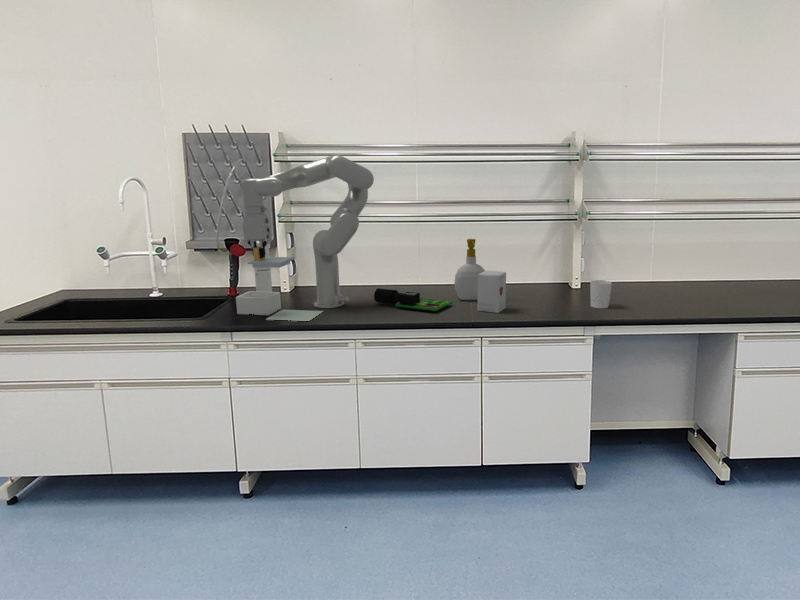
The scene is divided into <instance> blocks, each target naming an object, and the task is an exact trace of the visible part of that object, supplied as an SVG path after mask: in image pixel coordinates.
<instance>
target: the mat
mask: <svg viewBox="0 0 800 600" xmlns="http://www.w3.org/2000/svg"><path fill="white" fill-rule="evenodd" d="M322 312H323V313H324V310H305V309H302V310H301V309H280V310H278V311H276V312H274V313H273V314H271V315H269V317H267V318H266V319H265V321H274V320H288V321H287V322H297V321H310V320H311V321H313V320H314V319H316V318H317V317H318V315H319V314H320V315H321V313H322ZM323 313H322V314H323ZM320 315H319V316H320ZM316 316H317V317H316ZM315 317H316V318H315ZM313 318H314V319H313ZM312 319H313V320H312ZM290 320H291V321H290ZM311 321H310V322H311Z"/></svg>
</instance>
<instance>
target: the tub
mask: <svg viewBox="0 0 800 600" xmlns="http://www.w3.org/2000/svg"><path fill="white" fill-rule="evenodd" d="M281 303H282V301H281V292H280V291H279V292H278V291H272V292H258V291H256V290H255V291H252V290H249V291H247V292H244V293H242V294H240V295H237V296H236V297H235V304H236V305H235V306H236V313H237V315H249V314H252V315H253V314H254V315H255V316H256V315H257V316H271V315H273V314H275V313H277V312H278V311H280V310H282V304H281ZM279 309H280V310H279ZM277 310H278V311H277ZM270 314H271V315H270ZM254 315H253V316H254Z"/></svg>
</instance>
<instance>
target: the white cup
mask: <svg viewBox="0 0 800 600" xmlns="http://www.w3.org/2000/svg"><path fill="white" fill-rule="evenodd" d="M589 284H590V287H589V289H590V290H589V291H590V293H589V295H590V307H591V308H595V309H608V308H609V305H610V300H611V292H612V281H610V280H604V279H602V280H601V279H597V280H596V279H594V280H590V283H589Z"/></svg>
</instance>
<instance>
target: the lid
mask: <svg viewBox="0 0 800 600" xmlns="http://www.w3.org/2000/svg"><path fill="white" fill-rule="evenodd" d="M259 248H260V246H258V247H255V248H253V249H252V254H253V253H254V259H253V260H250V261H247V262H246V263H247V265H252V268H254V267H270V268H273V269H274V268H276V269H277V268H283V267H284V266H288V265H290V264H291V261H294V260H295V257H294V256H275V257H274V256H270V257H264V258H260V254H259Z"/></svg>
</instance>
